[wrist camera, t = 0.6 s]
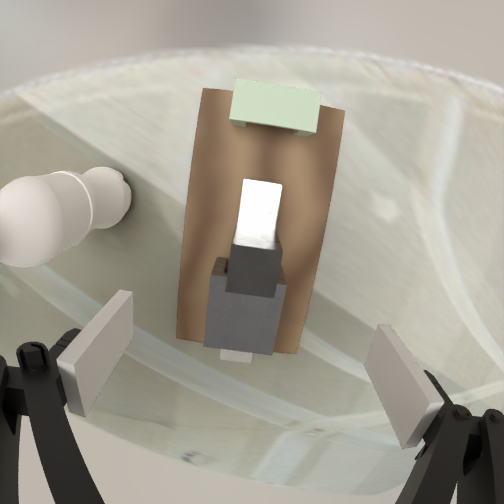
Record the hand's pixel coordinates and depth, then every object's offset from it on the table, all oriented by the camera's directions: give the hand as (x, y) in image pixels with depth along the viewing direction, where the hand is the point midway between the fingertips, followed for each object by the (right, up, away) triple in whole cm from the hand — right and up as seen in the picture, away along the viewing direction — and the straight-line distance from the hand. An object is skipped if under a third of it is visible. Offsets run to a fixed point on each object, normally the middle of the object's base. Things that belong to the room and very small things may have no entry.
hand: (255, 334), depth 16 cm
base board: (0, +7, +21) cm, 22 cm away
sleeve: (-1, -1, +24) cm, 24 cm away
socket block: (+2, +20, +18) cm, 26 cm away
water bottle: (-17, +11, +20) cm, 29 cm away
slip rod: (-1, +2, +22) cm, 22 cm away
